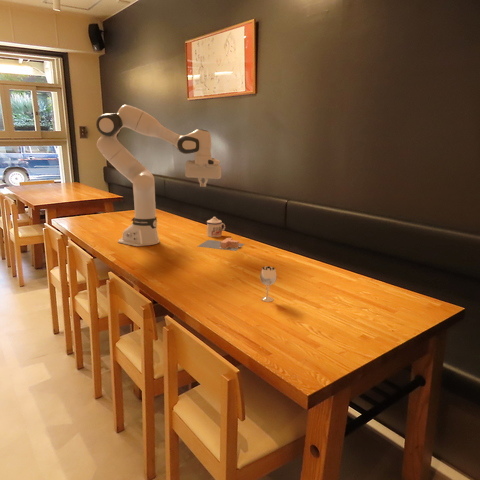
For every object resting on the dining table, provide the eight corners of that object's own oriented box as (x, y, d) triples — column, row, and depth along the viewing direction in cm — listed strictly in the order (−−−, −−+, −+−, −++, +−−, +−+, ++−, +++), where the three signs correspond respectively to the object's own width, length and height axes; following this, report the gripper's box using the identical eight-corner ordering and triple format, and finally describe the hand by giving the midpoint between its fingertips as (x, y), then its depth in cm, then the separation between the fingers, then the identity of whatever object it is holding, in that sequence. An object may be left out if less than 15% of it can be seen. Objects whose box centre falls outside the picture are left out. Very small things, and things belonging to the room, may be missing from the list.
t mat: (197, 247, 210) (197, 246, 210) (208, 240, 224) (208, 239, 224) (235, 252, 203) (235, 250, 203) (244, 244, 217) (244, 243, 217)
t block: (220, 247, 208) (220, 242, 208) (227, 243, 218) (227, 237, 217) (234, 249, 206) (234, 243, 205) (240, 244, 215) (240, 239, 214)
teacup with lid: (211, 238, 228) (211, 219, 225) (203, 235, 236) (203, 216, 233) (229, 236, 235) (229, 217, 232) (220, 233, 242) (221, 214, 239)
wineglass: (265, 295, 149) (266, 264, 146) (278, 299, 145) (279, 268, 142) (256, 299, 144) (257, 268, 141) (269, 303, 141) (270, 272, 138)
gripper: (182, 160, 211) (183, 186, 215) (218, 161, 205) (218, 188, 208) (188, 159, 217) (188, 184, 220) (222, 161, 211) (222, 186, 214)
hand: (203, 186), depth 214 cm, fingers closed
